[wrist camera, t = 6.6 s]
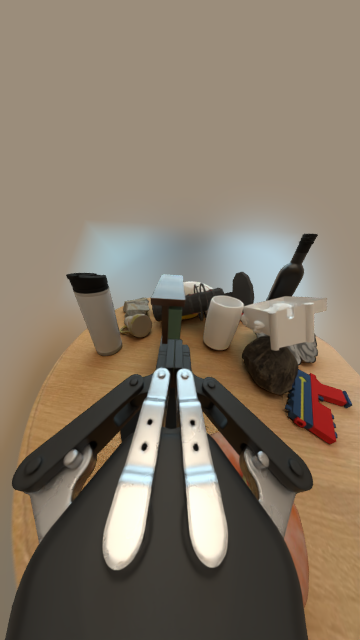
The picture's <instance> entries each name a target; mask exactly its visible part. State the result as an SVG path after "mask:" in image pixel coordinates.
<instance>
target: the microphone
mask: <svg viewBox="0 0 360 640" xmlns="http://www.w3.org/2000/svg"><path fill="white" fill-rule="evenodd" d="M201 285H202V287H203V290H204V291H203V292H201ZM197 287H199V286H196V284H194V294H188V295H185V307H182V316H185V315H190V314H191V315H193V314H194V313H196V314H198V315H199V318H200V320H201V321H203V312H204V314H205V317H207V315H206V312H205V311H208V309H209V306H210V302H211V299H212V298H213V297H214V296H229V297H233V298H236V299H238V300H240V301H241V302H242V303H243V304H244V306H247V305H251V304H253V302H254V291H253V285H252V283H251V281H250V279H249V276H248V275H247V274H245V273H244V272H240V273H236V275H235V277H234V279H233V292H230V293H225V294H224V292H223V290H222V289H221V288H216V289H209V290H208V291H206V290H205V287H206V286H205V287H204V285H203V284H202V283H200V287H199V291H200V292H198V289H197ZM195 288H196V292H197V293H196V292H195ZM207 288H208V287H207ZM191 292H192V291H191ZM152 310H153V314H154V317H155V319H156V320H157V321H162V306H161V305H152ZM200 312H201V316H200ZM242 313H244V312H243V311H242ZM194 315H195V314H194ZM197 317H198V316H197Z"/></svg>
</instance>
